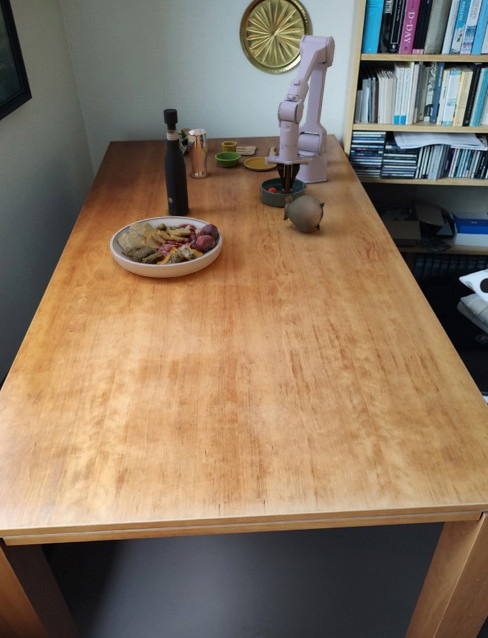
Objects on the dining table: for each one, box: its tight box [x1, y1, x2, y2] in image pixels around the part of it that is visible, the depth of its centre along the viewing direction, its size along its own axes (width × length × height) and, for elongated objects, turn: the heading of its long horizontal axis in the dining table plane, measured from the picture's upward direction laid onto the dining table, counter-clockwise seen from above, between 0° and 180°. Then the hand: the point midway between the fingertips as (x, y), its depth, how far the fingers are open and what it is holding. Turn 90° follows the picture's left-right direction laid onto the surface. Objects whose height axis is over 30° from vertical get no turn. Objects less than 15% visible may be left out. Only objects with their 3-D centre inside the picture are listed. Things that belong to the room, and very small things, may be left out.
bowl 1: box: [109, 215, 223, 279], centre depth 149 cm, size 30×30×8 cm
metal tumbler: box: [187, 128, 209, 179], centre depth 195 cm, size 7×7×15 cm
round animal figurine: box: [282, 194, 326, 233], centre depth 161 cm, size 10×12×10 cm
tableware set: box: [214, 140, 327, 172], centre depth 210 cm, size 41×28×6 cm
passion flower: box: [177, 127, 193, 156], centre depth 215 cm, size 11×11×12 cm
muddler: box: [281, 164, 293, 194], centre depth 177 cm, size 4×4×11 cm
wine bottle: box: [163, 108, 190, 217], centre depth 164 cm, size 6×6×30 cm
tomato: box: [268, 188, 277, 193], centre depth 181 cm, size 3×3×3 cm
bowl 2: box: [259, 176, 308, 208], centre depth 181 cm, size 15×15×4 cm
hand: (287, 187), depth 178 cm, fingers closed on muddler, 2 cm apart
